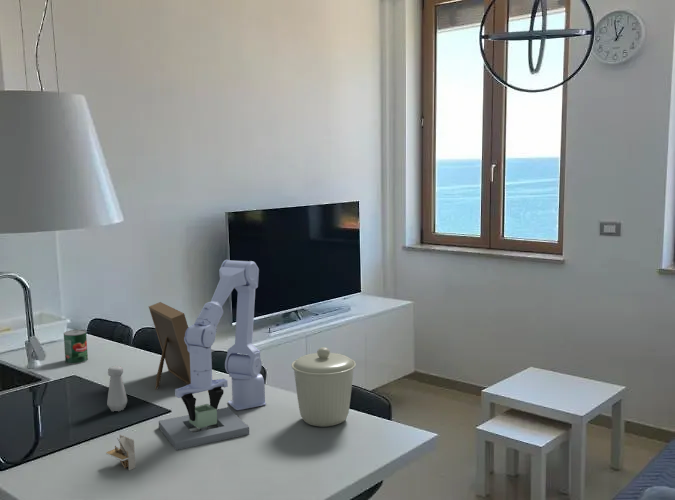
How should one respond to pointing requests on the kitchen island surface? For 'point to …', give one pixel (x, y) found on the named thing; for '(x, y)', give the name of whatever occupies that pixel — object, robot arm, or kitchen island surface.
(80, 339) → the canned tomato
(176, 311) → the photo frame
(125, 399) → the salt shaker
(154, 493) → the kitchen island surface
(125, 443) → the architectural model
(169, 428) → the slotted base plate
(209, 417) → the hollow block
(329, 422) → the canister
